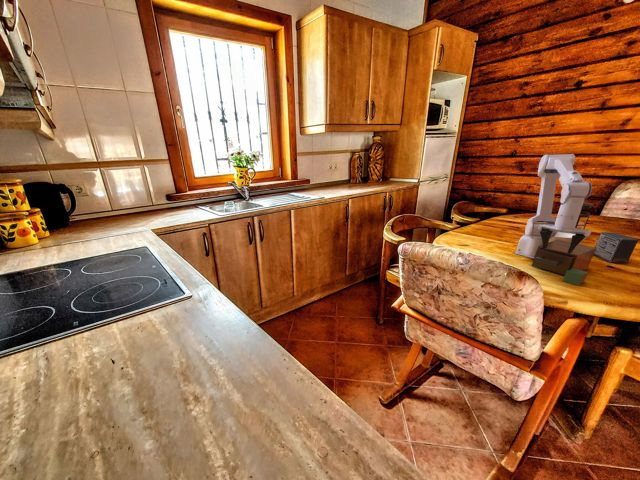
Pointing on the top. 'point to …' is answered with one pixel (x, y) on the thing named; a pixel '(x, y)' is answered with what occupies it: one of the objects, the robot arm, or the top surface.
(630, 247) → the small box
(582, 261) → the cabinet
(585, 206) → the french press
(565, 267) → the drawer
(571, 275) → the block
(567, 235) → the serving bowl
